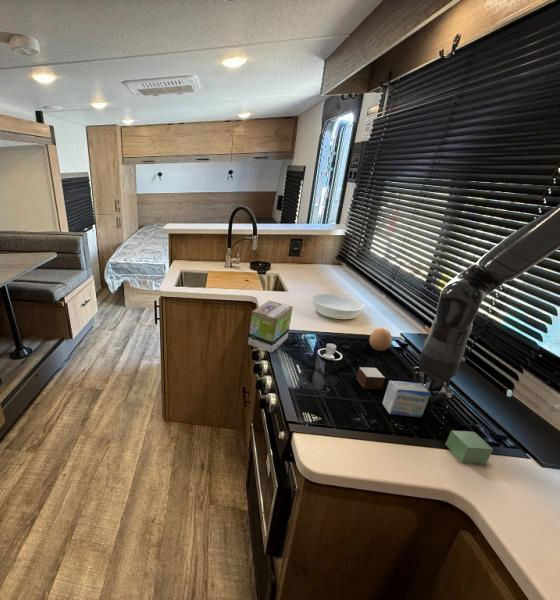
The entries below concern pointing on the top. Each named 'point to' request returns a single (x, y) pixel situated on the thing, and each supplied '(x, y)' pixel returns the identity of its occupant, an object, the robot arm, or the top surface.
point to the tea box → (270, 325)
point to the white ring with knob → (329, 352)
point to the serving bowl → (337, 306)
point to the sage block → (468, 447)
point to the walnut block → (370, 378)
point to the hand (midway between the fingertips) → (422, 407)
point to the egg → (380, 339)
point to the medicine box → (406, 398)
